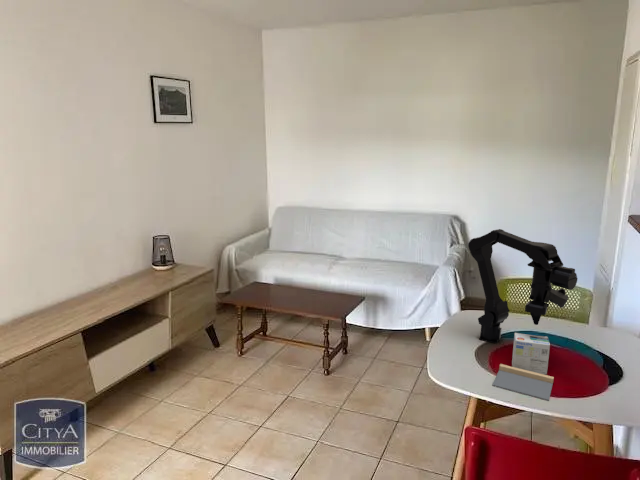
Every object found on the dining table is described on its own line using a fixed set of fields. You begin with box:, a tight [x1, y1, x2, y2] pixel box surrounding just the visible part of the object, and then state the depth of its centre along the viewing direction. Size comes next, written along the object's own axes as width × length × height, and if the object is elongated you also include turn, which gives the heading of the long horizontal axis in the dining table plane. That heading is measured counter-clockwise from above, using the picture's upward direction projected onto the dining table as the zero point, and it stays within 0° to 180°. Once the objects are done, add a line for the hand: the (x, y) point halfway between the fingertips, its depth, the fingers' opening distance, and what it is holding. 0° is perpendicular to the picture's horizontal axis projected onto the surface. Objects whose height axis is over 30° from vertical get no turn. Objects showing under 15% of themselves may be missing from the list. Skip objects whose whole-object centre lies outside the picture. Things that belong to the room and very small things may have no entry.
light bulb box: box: [511, 332, 551, 375], centre depth 156 cm, size 11×7×11 cm, turn 71°
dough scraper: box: [491, 363, 555, 401], centre depth 147 cm, size 16×12×2 cm
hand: (536, 324), depth 162 cm, fingers closed
